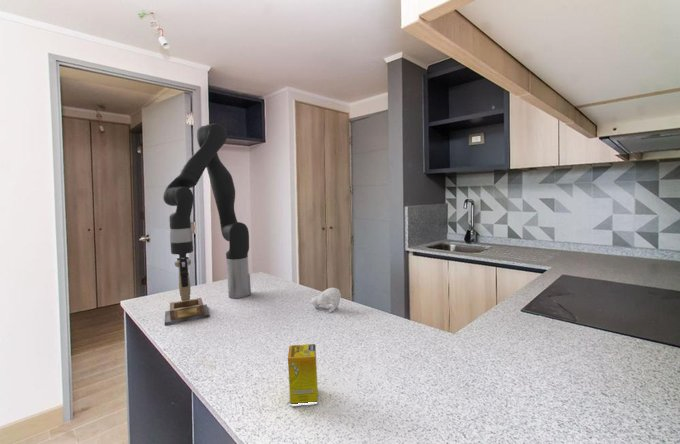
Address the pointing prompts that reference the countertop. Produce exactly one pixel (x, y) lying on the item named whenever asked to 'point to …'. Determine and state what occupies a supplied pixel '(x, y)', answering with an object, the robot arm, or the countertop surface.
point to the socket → (186, 311)
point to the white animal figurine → (327, 299)
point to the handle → (184, 290)
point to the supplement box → (302, 373)
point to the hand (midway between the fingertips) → (184, 285)
